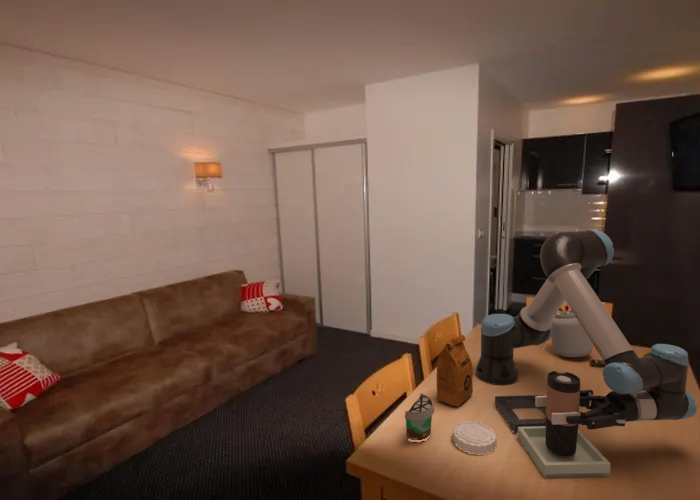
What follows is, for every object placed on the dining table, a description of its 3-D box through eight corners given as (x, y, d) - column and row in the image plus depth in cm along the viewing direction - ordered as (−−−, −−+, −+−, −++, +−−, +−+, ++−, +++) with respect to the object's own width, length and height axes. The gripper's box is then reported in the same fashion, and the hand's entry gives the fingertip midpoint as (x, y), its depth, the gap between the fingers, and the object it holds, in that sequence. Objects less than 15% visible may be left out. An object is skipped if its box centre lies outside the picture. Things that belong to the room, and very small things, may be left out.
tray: (517, 438, 112) (517, 426, 111) (573, 436, 111) (573, 425, 111) (544, 478, 96) (545, 465, 95) (609, 476, 96) (610, 463, 95)
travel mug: (565, 461, 98) (568, 387, 95) (538, 444, 105) (540, 374, 102) (583, 451, 102) (587, 379, 99) (556, 435, 108) (559, 368, 106)
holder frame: (494, 404, 129) (494, 396, 129) (542, 403, 129) (543, 395, 129) (514, 433, 114) (514, 424, 113) (569, 432, 113) (569, 423, 113)
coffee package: (477, 397, 134) (478, 336, 131) (457, 411, 126) (457, 347, 123) (452, 387, 142) (453, 329, 139) (432, 400, 134) (432, 339, 131)
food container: (425, 451, 107) (425, 417, 106) (405, 444, 111) (404, 411, 109) (440, 428, 118) (440, 397, 116) (421, 422, 121) (421, 392, 120)
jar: (536, 351, 171) (538, 296, 168) (555, 343, 179) (558, 290, 175) (580, 366, 155) (583, 305, 152) (599, 357, 163) (602, 299, 159)
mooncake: (443, 438, 113) (443, 427, 113) (473, 425, 119) (473, 414, 118) (475, 462, 103) (475, 449, 102) (505, 447, 108) (506, 435, 108)
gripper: (660, 443, 93) (565, 448, 92) (602, 398, 113) (524, 402, 112) (662, 414, 92) (567, 418, 91) (603, 374, 112) (525, 378, 111)
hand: (543, 409), depth 102 cm, fingers open, 8 cm apart
